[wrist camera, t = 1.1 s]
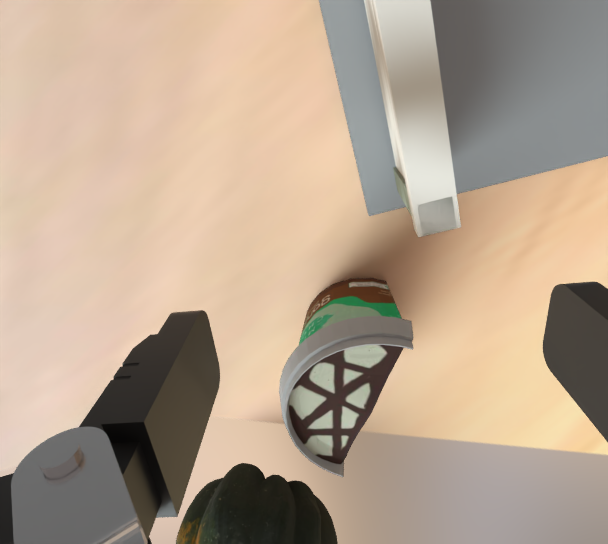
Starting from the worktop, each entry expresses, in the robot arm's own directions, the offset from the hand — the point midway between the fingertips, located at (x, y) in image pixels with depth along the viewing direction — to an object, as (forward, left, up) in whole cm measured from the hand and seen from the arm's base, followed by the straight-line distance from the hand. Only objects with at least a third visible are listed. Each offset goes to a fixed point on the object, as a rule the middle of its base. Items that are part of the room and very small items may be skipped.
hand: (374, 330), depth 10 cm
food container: (+4, +12, -21) cm, 25 cm away
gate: (-4, -5, -19) cm, 20 cm away
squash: (+16, +32, -21) cm, 42 cm away
